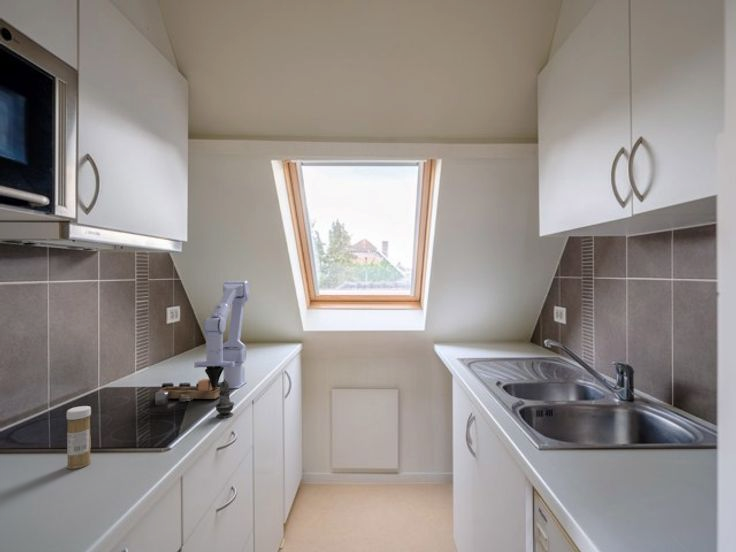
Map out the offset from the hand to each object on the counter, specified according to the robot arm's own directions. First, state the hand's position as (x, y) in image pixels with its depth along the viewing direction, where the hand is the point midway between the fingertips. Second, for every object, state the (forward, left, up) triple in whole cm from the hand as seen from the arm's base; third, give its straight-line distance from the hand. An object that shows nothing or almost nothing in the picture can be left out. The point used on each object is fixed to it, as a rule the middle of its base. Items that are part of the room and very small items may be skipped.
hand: (214, 386), depth 140 cm
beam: (0, -9, -4) cm, 10 cm away
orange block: (0, -3, -1) cm, 4 cm away
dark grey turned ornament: (+17, +12, -5) cm, 21 cm away
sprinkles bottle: (+51, -8, -5) cm, 52 cm away
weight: (+6, -16, -4) cm, 18 cm away
